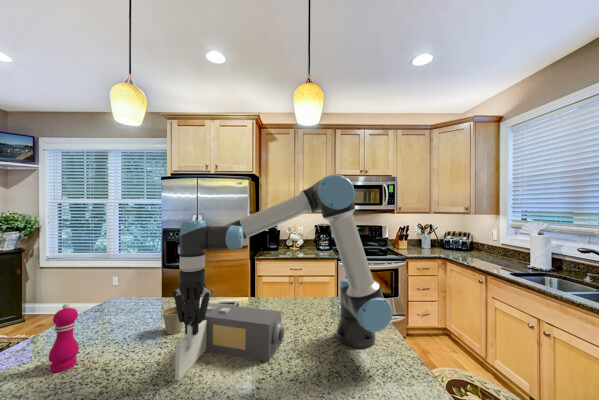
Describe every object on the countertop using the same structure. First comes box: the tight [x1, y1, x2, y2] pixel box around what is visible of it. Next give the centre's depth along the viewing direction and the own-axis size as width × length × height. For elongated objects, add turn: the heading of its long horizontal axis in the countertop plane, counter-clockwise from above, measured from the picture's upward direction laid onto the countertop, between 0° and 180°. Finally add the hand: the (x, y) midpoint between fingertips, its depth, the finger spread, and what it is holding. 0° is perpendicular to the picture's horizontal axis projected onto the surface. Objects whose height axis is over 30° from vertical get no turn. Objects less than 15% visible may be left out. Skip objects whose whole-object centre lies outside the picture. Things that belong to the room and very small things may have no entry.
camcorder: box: [206, 300, 240, 314], centre depth 122 cm, size 16×20×5 cm
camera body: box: [204, 305, 285, 362], centre depth 93 cm, size 28×12×13 cm, turn 74°
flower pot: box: [161, 306, 184, 335], centre depth 106 cm, size 9×9×9 cm
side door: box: [172, 320, 207, 381], centre depth 82 cm, size 17×2×10 cm, turn 174°
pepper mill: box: [47, 303, 80, 374], centre depth 82 cm, size 7×7×20 cm
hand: (191, 344), depth 79 cm, fingers closed
